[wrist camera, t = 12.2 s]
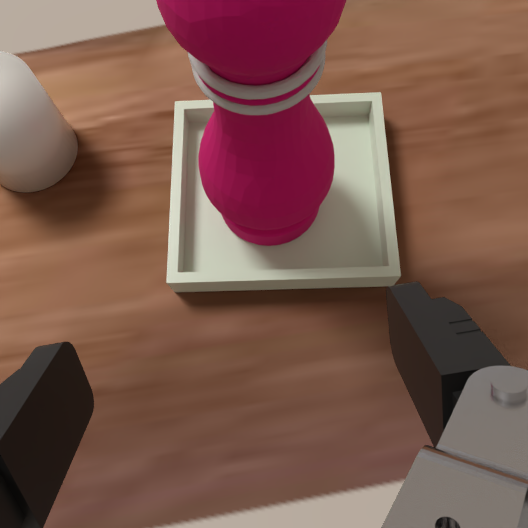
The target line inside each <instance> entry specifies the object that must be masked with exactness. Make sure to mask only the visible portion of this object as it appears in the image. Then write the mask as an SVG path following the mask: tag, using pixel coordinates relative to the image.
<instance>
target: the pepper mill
mask: <svg viewBox="0 0 528 528" xmlns="http://www.w3.org/2000/svg"><path fill="white" fill-rule="evenodd" d="M156 1H157V4H158V8H159V10H160V12H161V15H162V17H163V20H164V22H165V24H166V27H167V28H168V29H169V31H170V32H171V33H172V35H173V36H174V38H175V39H176V40H177V42H178V43H179V44H180V46H181V47H182V48H184V49H185V50H186V51H187V52H188V57H189V59H190V62H191V65H192V71H193V75H194V78H195V80H196V82H197V84H198V86H199V87H200V89H201V90H202V91H203V93H204V94H205V95H206V96H207V97H208V98H209V99H210V100H211V101H213V106H214V112H213V114H212V116H211V118H210V119H209V121H208V123H207V125H206V127H205V130H204V133H203V136H202V139H201V143H200V149H199V155H198V166H199V171H200V177H201V182H202V186H203V188H204V191H205V193H206V195H207V197H208V199H209V200H210V202H211V203H212V204H213V206H214V207H215V208H216V209H217V210H218V211H219V212H220V213H221V215H222V217H223V219H224V221H225V223H226V224H227V226H228V227H229V228H230V230H231V231H232V232H233V233H235V234H236V235H237V236H238V237H240V238H241V239H243V240H245V241H248V242H250V243H254V244H257V245H264V246H273V245H281V244H284V243H288V242H290V241H292V240H294V239H296V238H298V237H299V236H301V235H302V234H303V233H304V232H306V231H307V230H308V228H309V227H310V226H311V225H312V223H313V222H314V220H315V218H316V216H317V214H318V211H319V206H320V205H321V203H322V202H323V200H324V199H325V197H326V196H327V194H328V192H329V190H330V187H331V184H332V181H333V176H334V168H335V155H334V146H333V142H332V139H331V136H330V133H329V130H328V127H327V125H326V123H325V121H324V119H323V117H322V116H321V114H320V113H319V111H318V110H317V108H316V107H315V105H314V104H313V102H312V100H311V98H310V95H309V93H310V92H311V91H312V90H313V89H314V87H315V86H316V85H317V83H318V81H319V80H320V78H321V75H322V72H323V69H324V65H325V50H326V46H327V39H328V37H329V36H330V35H331V33H332V32H333V31H334V29H335V28H336V26H337V24H338V22H339V19H340V16H341V14H342V11H343V8H344V5H345V2H346V0H156Z"/></svg>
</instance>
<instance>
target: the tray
mask: <svg viewBox="0 0 528 528" xmlns="http://www.w3.org/2000/svg"><path fill="white" fill-rule="evenodd" d="M310 98H311V100H312V102H313V104H314V105H315V107H316V108H317V110H318V111H319V113H320V114H321V116H322V117H323V119H324V121H325V123H326V125H327V127H328V130H329V133H330V136H331V139H332V142H333V146H334V155H335V168H334V176H333V181H332V184H331V187H330V190H329V192H328V194H327V196H326V197H325V199H324V200H323V202H322V203H321V205H320V206H319V211H318V214H317V216H316V218H315V220H314V222H313V223H312V225H311V226H310V227H309V228H308V230H307V231H306V232H304V233H303V234H302V235H301V236H299V237H298V238H296V239H294V240H292V241H290V242H288V243H284V244H281V245H273V246H264V245H257V244H254V243H250V242H248V241H245V240H243V239H241V238H240V237H238V236H237V235H236V234H235V233H233V232H232V231H231V230H230V228H229V227H228V226H227V224H226V223H225V221H224V219H223V217H222V215H221V213H220V212H219V211H218V210H217V209H216V208H215V207H214V206H213V204H212V203H211V202H210V200H209V199H208V197H207V195H206V193H205V191H204V188H203V186H202V182H201V177H200V171H199V166H198V155H199V149H200V143H201V139H202V136H203V133H204V130H205V127H206V125H207V123H208V121H209V119H210V118H211V116H212V114H213V112H214V106H213V101H211V100H194V101H175V113H174V135H173V156H172V177H171V199H170V220H169V241H168V263H167V284H168V285H169V286H170V287H171V289H172V290H173V291H174V292H205V291H240V290H275V289H311V288H346V287H381V286H393V285H394V284H395V283H396V282H397V281H398V279H399V278H400V277H401V271H400V262H399V253H398V244H397V235H396V226H395V217H394V207H393V198H392V189H391V180H390V171H389V162H388V153H387V143H386V134H385V125H384V116H383V107H382V98H381V92H377V93H354V94H331V95H310Z"/></svg>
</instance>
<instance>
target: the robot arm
mask: <svg viewBox="0 0 528 528" xmlns="http://www.w3.org/2000/svg"><path fill="white" fill-rule="evenodd" d="M386 300H387V311H388V322H389V334H390V343H391V349H392V353H393V357H394V360H395V363H396V366H397V368H398V370H399V372H400V374H401V377H402V379H403V381H404V383H405V385H406V387H407V390H408V392H409V394H410V396H411V398H412V400H413V402H414V405H415V407H416V409H417V411H418V413H419V415H420V418H421V420H422V422H423V424H424V426H425V428H426V430H427V433H428V435H429V437H430V439H431V441H432V443H433V446H434V447H432V446H429V445H425V446H424V447H423V448H422V449H421V450H420V451H419V453H418V455H417V457H416V459H415V461H414V463H413V465H412V467H411V469H410V471H409V473H408V475H407V477H406V479H405V481H404V483H403V485H402V487H401V489H400V491H399V493H398V495H397V497H396V500H395V501H394V503H393V505H392V507H391V509H390V511H389V513H388V515H387V518H386V519H385V521H384V523H383V525H382V527H381V528H528V370H525V369H522V368H518V367H512V366H510V364H509V363H508V362H507V361H506V360H505V358H504V357H503V356H502V355H501V353H500V352H499V351H498V350H497V349H496V347H495V346H494V345H493V344H492V343H491V341H490V340H489V339H488V338H487V337H486V335H485V334H484V333H483V332H481V331H480V328H479V327H478V326H477V324H476V323H475V322H474V321H472V318H471V317H470V316H469V315H468V314H467V312H466V311H465V310H464V309H463V307H462V306H460V305H458V304H456V303H454V302H452V301H450V300H448V299H447V298H445V297H442V298H436V299H431V298H430V297H429V295H428V294H427V293H426V291H425V290H424V289H423V287H422V286H421V284H420V283H419V282H417V281H416V282H411V283H405V284H399V285H393V286H388V287H387V288H386ZM93 408H94V399H93V393H92V389H91V387H90V384H89V382H88V380H87V377H86V375H85V372H84V370H83V367H82V365H81V363H80V360H79V358H78V355H77V353H76V350H75V348H74V347H73V345H72V344H71V343H70V342H61V343H55V344H49V345H44V346H38V347H36V348H35V349H34V350H33V352H32V353H31V355H30V356H29V357H28V359H27V360H26V361H25V363H24V364H23V366H22V367H21V368H20V369H18V370H17V371H16V372H15V373H13V374H12V375H11V376H10V377H9V378H7V379H6V380H5V381H4V382H2V383H1V384H0V528H43V526H44V524H45V522H46V520H47V517H48V515H49V513H50V510H51V508H52V506H53V503H54V501H55V499H56V497H57V494H58V492H59V490H60V487H61V485H62V483H63V480H64V478H65V476H66V474H67V471H68V469H69V467H70V464H71V462H72V460H73V457H74V455H75V453H76V451H77V448H78V446H79V444H80V441H81V439H82V437H83V434H84V432H85V430H86V428H87V425H88V423H89V421H90V418H91V416H92V413H93Z"/></svg>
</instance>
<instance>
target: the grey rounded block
mask: <svg viewBox="0 0 528 528" xmlns="http://www.w3.org/2000/svg"><path fill="white" fill-rule="evenodd" d="M77 152H78V142H77V138H76V135H75V133H74V131H73V129H72V128H71V127H70V125H69V124H68V122H67V121H66V119H65V118H64V117H63V115H62V114H61V112H60V111H59V109H58V108H57V107H56V105H55V104H54V102H53V101H52V99H51V98H50V97H49V95H48V94H47V92H46V91H45V90H44V88H43V87H42V85H41V84H40V82H39V81H38V80H37V78H36V77H35V75H34V74H33V72H32V71H31V70H30V68H29V67H28V66H27V64H26V63H25V62H24V61H23V60H21V59H20V58H19V57H17V56H15V55H13V54H10V53H7V52H2V51H0V184H1V185H2V186H4V187H5V188H7V189H10V190H12V191H16V192H36V191H40V190H43V189H46V188H48V187H50V186H52V185H54V184H55V183H57V182H58V181H60V180H61V179H62V178H63V177H64V176H65V175H66V174H67V173H68V172H69V170H70V169H71V167H72V166H73V164H74V162H75V160H76V156H77Z"/></svg>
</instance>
